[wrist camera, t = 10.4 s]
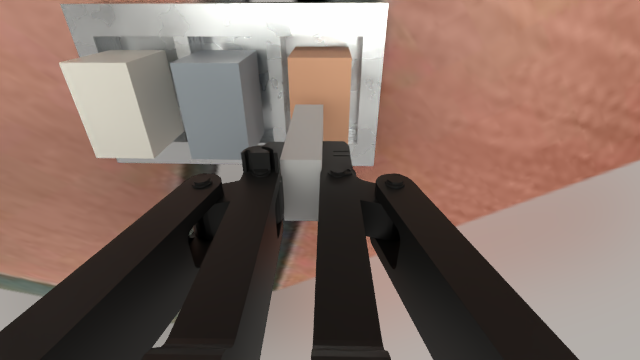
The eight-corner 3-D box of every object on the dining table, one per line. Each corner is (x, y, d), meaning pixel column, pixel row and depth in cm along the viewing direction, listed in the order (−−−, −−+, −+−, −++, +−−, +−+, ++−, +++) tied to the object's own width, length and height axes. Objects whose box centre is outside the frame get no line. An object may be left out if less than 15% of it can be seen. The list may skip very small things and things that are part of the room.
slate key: (215, 131, 26) (191, 159, 21) (200, 50, 23) (169, 62, 18) (264, 132, 26) (250, 159, 21) (256, 50, 23) (238, 63, 18)
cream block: (135, 130, 26) (96, 157, 22) (110, 49, 23) (58, 62, 19) (184, 131, 26) (154, 158, 22) (165, 49, 23) (125, 62, 18)
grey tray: (141, 143, 31) (117, 162, 27) (98, 2, 25) (60, 3, 21) (368, 146, 30) (373, 166, 27) (380, 2, 24) (388, 3, 21)
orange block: (298, 124, 27) (292, 148, 23) (295, 46, 24) (287, 57, 20) (345, 124, 27) (347, 149, 23) (348, 46, 24) (352, 57, 20)
